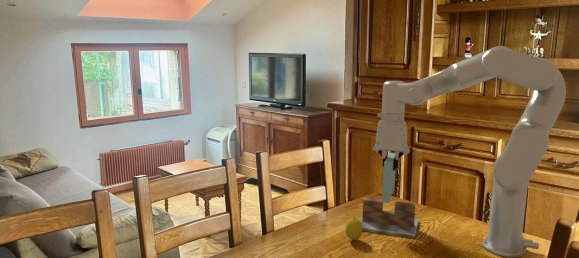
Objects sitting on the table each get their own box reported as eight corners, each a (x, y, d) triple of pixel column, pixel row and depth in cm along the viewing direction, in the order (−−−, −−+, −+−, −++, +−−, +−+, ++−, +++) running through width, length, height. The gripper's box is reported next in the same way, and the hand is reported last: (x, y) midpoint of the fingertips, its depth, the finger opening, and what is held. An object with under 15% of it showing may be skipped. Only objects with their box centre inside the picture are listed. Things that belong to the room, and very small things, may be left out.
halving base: (418, 221, 158) (419, 198, 156) (415, 238, 144) (416, 213, 143) (363, 214, 165) (364, 191, 163) (355, 229, 151) (356, 205, 149)
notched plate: (389, 203, 146) (391, 163, 143) (382, 202, 147) (384, 162, 144) (394, 190, 159) (396, 153, 156) (387, 189, 160) (389, 152, 157)
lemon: (356, 235, 146) (357, 213, 145) (365, 242, 141) (365, 219, 140) (342, 238, 145) (342, 215, 143) (350, 245, 139) (350, 222, 138)
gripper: (367, 117, 146) (365, 169, 150) (416, 120, 141) (412, 174, 145) (371, 114, 153) (368, 164, 157) (418, 117, 148) (414, 168, 151)
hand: (389, 168), depth 151 cm, fingers closed on notched plate, 2 cm apart
